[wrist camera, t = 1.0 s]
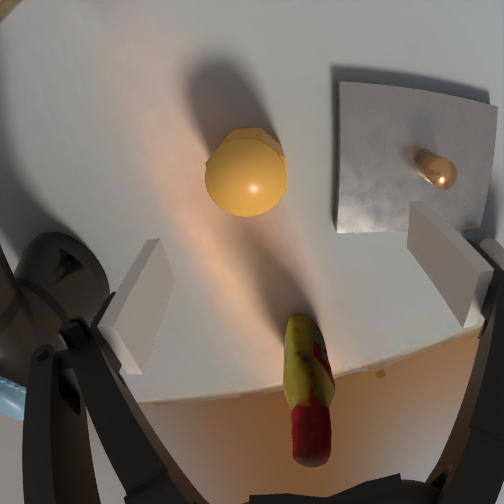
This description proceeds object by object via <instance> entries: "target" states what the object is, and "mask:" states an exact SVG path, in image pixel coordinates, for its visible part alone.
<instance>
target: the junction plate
mask: <svg viewBox="0 0 504 504" xmlns="http://www.w3.org/2000/svg"><path fill="white" fill-rule="evenodd" d="M336 96H337V174H336V202H335V223H334V227H335V230H336V232H337V233H349V232H388V231H408V225H409V202H410V201H416V200H423V201H424V202H425V203H426V204H427V205H428V206H430V207H431V208H432V209H433V210H434V211H435V212H436V213H437V214H439V215H440V216H441V217H442V218H443V219H444V220H445V221H446V222H447V223H448V224H450V225H451V226H452V227H453V228H454V229H455V230H480V227H481V222H482V218H483V214H484V209H485V204H486V199H487V194H488V189H489V183H490V177H491V171H492V164H493V156H494V148H495V138H496V127H497V110H498V107H497V106H494V105H490V104H486V103H482V102H478V101H474V100H470V99H466V98H462V97H457V96H452V95H448V94H443V93H437V92H432V91H426V90H420V89H413V88H406V87H399V86H391V85H382V84H371V83H359V82H344V81H336Z"/></svg>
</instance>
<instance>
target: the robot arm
mask: <svg viewBox="0 0 504 504" xmlns="http://www.w3.org/2000/svg"><path fill="white" fill-rule="evenodd" d="M407 248H408V249H409V251H410V252H411V253H412V255H413V256H414V257H415V259H416V260H417V261H418V263H419V264H420V265H421V267H422V268H423V269H424V271H425V272H426V274H427V275H428V276H429V278H430V279H431V281H432V282H433V284H434V285H435V286H436V288H437V289H438V291H439V292H440V294H441V295H442V297H443V298H444V300H445V301H446V303H447V304H448V306H449V307H450V309H451V310H452V312H453V314H454V315H455V317H456V318H457V320H458V321H459V323H460V325H461V326H462V328H467V327H470V326H473V325H476V324H477V322H478V320H479V317H480V314H482V315H483V317H484V318H485V321H484V323H483V326H482V329H481V331H480V334H479V336H478V339H480V341H479V346H478V349H477V354H476V357H475V362H474V365H473V369H472V372H471V376H470V379H469V383H468V386H467V389H466V392H465V395H464V398H463V401H462V404H461V407H460V410H459V413H458V416H457V418H456V421H455V424H454V426H453V429H452V431H451V434H450V436H449V439H448V441H447V443H446V445H445V448H444V450H443V452H442V455H441V457H440V459H439V461H438V463H437V465H436V466H435V468H434V469H433V471H432V472H431V474H430V475H429V477H428V479H427V480H426V482H425V483H424V482H420V481H415V480H401V477H400V473H398V474H395V475H391V476H387V477H384V478H379V479H375V480H371V481H366V482H363V483H361V484H359V485H357V486H354V487H352V488H350V489H347V490H345V491H343V492H340V493H338V494H335V495H333V496H330V497H312V496H304V495H295V494H288V493H285V494H270V495H250V497H249V502H246V503H243V504H495V502H496V500H497V497H498V495H499V492H500V490H501V487H502V484H503V481H504V271H503V270H502V268H501V267H500V266H499V265H498V264H497V263H496V262H495V261H494V260H493V259H492V258H491V257H490V256H489V255H488V254H487V253H486V252H484V250H483V249H482V248H481V247H480V246H479V245H478V244H477V243H475V242H473V241H471V240H469V239H468V240H465V239H464V238H463V237H462V236H461V235H460V234H459V233H458V232H457V231H456V230H455V229H454V228H453V227H452V226H451V225H450V224H448V223H447V222H446V221H445V220H444V219H443V218H442V217H441V216H440V215H439V214H437V213H436V212H435V211H434V210H433V209H432V208H431V207H430V206H428V205H427V204H426V203H425V202H424V201H423V200H416V201H410V202H409V225H408V240H407ZM174 283H175V279H174V276H173V273H172V271H171V268H170V265H169V262H168V260H167V257H166V254H165V251H164V248H163V245H162V243H161V240H160V238H158V239H153V240H147V242H146V243H145V245H144V246H143V248H142V250H141V251H140V253H139V254H138V256H137V258H136V259H135V261H134V263H133V264H132V266H131V268H130V269H129V271H128V273H127V274H126V276H125V278H124V280H123V281H122V283H121V285H120V286H119V288H118V290H117V292H112V293H111V294H110V290H109V284H108V280H107V277H106V275H105V273H104V271H103V269H102V267H101V265H100V264H99V262H98V261H97V260H96V258H95V257H94V256H93V255H92V253H91V252H90V251H89V250H88V249H87V248H85V247H84V246H83V245H82V244H81V243H79V242H78V241H76V240H75V239H73V238H71V237H69V236H67V235H64V234H61V233H55V232H49V233H44V234H41V235H39V236H38V237H36V238H35V239H34V240H33V241H32V242H31V243H30V244H29V245H28V246H27V247H26V249H25V250H24V252H23V254H22V257H21V259H20V261H19V263H18V265H17V268H16V270H15V272H14V275H13V273H12V271H11V268H10V266H9V264H8V262H7V260H6V257H5V255H4V252H3V250H2V247H1V245H0V413H2V414H4V415H6V416H8V417H10V418H13V419H16V420H24V421H23V444H22V465H23V466H22V468H23V490H24V491H23V492H24V504H101V502H100V498H99V493H98V489H97V484H96V478H95V473H94V468H93V461H92V455H91V448H90V441H89V433H88V424H87V414H86V407H87V409H88V412H89V415H90V417H91V419H92V422H93V424H94V427H95V429H96V432H97V434H98V436H99V439H100V441H101V443H102V445H103V447H104V450H105V452H106V454H107V456H108V458H109V460H110V462H111V464H112V466H113V468H114V470H115V472H116V474H117V476H118V478H119V480H120V482H121V484H122V485H123V487H124V489H125V491H126V496H125V497H124V501H125V504H209V503H208V502H207V501H206V500H205V499H204V498H203V497H202V496H201V494H200V493H199V492H198V491H197V489H196V488H195V487H194V486H193V484H192V483H191V482H190V481H189V479H188V478H187V477H186V475H185V474H184V473H183V472H182V470H181V469H180V468H179V466H178V465H177V463H176V462H175V461H174V459H173V458H172V456H171V455H170V454H169V452H168V451H167V449H166V448H165V446H164V445H163V443H162V442H161V441H160V439H159V437H158V436H157V435H156V433H155V431H154V430H153V428H152V427H151V425H150V424H149V422H148V420H147V419H146V417H145V416H144V414H143V412H142V411H141V409H140V407H139V406H138V404H137V402H136V401H135V399H134V397H133V395H132V394H131V392H130V390H129V388H128V387H127V385H126V383H125V381H124V379H123V377H122V376H121V375H120V373H119V371H120V368H121V365H122V366H123V368H124V369H125V371H126V372H127V374H144V371H145V367H146V364H147V361H148V358H149V355H150V352H151V349H152V346H153V343H154V340H155V337H156V334H157V331H158V328H159V325H160V322H161V320H162V317H163V314H164V311H165V308H166V305H167V303H168V300H169V297H170V294H171V292H172V289H173V286H174ZM89 326H90V327H89Z"/></svg>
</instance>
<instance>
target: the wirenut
mask: <svg viewBox="0 0 504 504" xmlns="http://www.w3.org/2000/svg"><path fill="white" fill-rule="evenodd" d="M205 183H206V188H207V191H208V193H209V195H210V197H211V198H212V200H213V201H214V202H215V203H216V204H217V205H218V206H219V207H220V208H221V209H223V210H224V211H226V212H228V213H231V214H233V215H237V216H244V217H249V216H256V215H259V214H262V213H264V212H266V211H268V210H270V209H271V208H272V207H274V206H275V205H276V204H277V203H278V201H279V200H280V199H281V197H282V195H283V193H284V191H285V190H286V169H285V156H284V153H283V149H282V146H281V144H280V143H278V142H277V141H276V140H275V139H274V138H273V137H272V136H270V135H269V134H268V133H267V132H266V131H265V130H263V129H262V128H261V127H259V128H242V129H233V130H232V131H231V132H230V133H229V135H228V136H227V137H226V138H225V139H224V140H223V141H222V143H221V144H220V145H219V146H218V147H217V148H216V150H215V151H214V152H213V154H212V155H211V156H210V158H209V159H208V161H207V162H206V172H205Z"/></svg>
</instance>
